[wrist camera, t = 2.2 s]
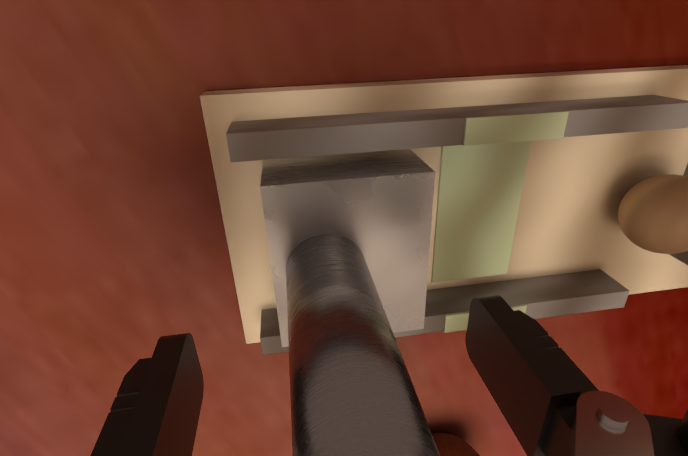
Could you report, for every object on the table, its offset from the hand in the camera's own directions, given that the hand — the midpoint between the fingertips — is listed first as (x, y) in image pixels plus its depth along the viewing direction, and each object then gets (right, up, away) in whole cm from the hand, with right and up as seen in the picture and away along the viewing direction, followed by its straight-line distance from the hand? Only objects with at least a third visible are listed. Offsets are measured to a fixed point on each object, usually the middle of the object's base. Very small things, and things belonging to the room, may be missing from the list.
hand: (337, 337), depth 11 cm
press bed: (+8, +4, +9) cm, 12 cm away
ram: (0, +3, +6) cm, 7 cm away
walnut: (+14, +5, +8) cm, 17 cm away
